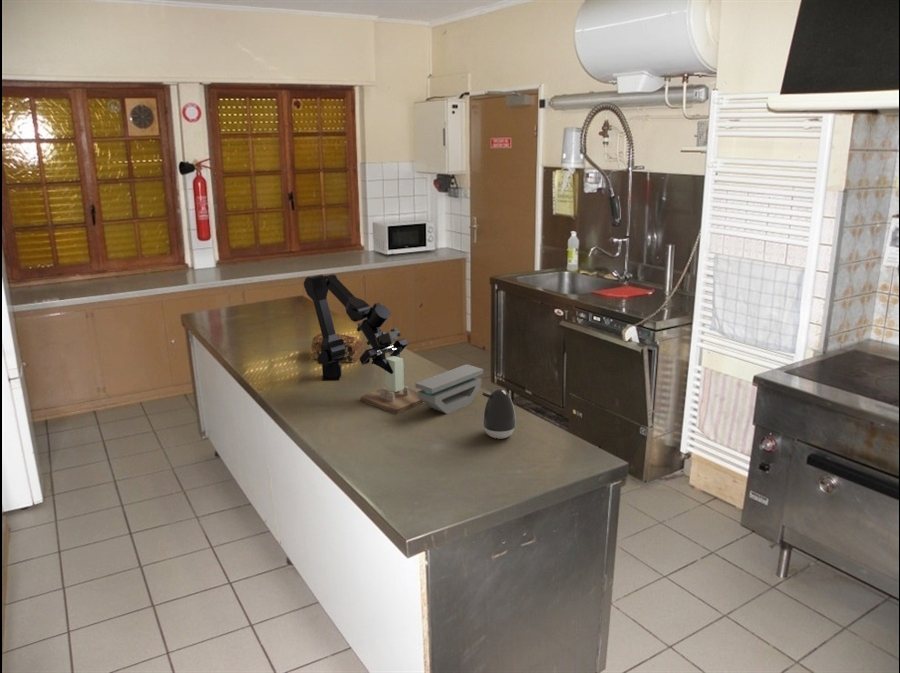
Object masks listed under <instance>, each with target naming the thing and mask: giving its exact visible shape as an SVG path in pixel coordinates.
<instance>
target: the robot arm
mask: <svg viewBox="0 0 900 673" xmlns="http://www.w3.org/2000/svg"><path fill="white" fill-rule="evenodd" d="M303 288H304V290H305V293H306V295H307V296H308V297H309V298H310V299H311V300H312V301H313V305H314V308H315V312H316V317H317V320H318V325H319V328H320V331H321V332H320V334H322V336H323V340H322V344H321V351H322V352H321V354H320V355H319V356H318V357H317V364H319V365H321V368H322V369H321V371H322V377H321V380H322V381H339V380H340V379H341V377H342V375H343V370H342V364H341V362H340V361H343V359H344V355H345V349H346V348H345V346H344V342H343V339H342V338H341V339H340V338H339V337H338V336H337V335H336V334H337V333H336V330H335V326H334V322H333V318H332V315H331V310H330V306H329V303H328V299H327V296H328V293H329V292H330V293H331V294H332V295H333V296H334V297H335V298H337V300H338V301H339V302H340V303H341V304H342V306H343V307H344V308H345V314H346V315H347V316H348V317H349V319H350V320H351V321H352V322H360V321H362V322H361V323H357V328H356V332H357V333H358V332H361V331H362V333H363V335H364V337H365V338H366V339H367V342H366V344H367V346H371V348H369V349H366V350H365V351H364V352H362V355H361V356H360V358H359V361H360V364H361V366H364V365H368V364H369V363H370V360H371V365H376V366H377V367H379V368H380V369H383V370H384V371H385V370H386V371H387V372H389V373H390V374H392V373H393V370H392V368H391V366H390V365H389V363H388V361H387V360H386V358H387V357H386V354H387V353H388V354H389V356H388V357H390V356H396V357H399V358H401V353H402V352H403V351H404V350H405V348H406V347H407V346H408V345H409V342H408V340H407V339H406V338H400V339H399V337H400V336H401V331H400V330H399V328H398V327H394V328H391V329H390V331H389V332H386V331H385V330H383V331H382V329H381V327H383V326H384V325H385V323H386V322H387V320H388V319H390V317H391V316H392V315H391V310H390V309H389V308H388V307H386V306H385V305H383V304H381V303H380V302H376V303H374V304H373V305H372V306H370V304H369V303H368V302H366V301H365V300H363V299H361V298H358V297H356V296H355V295H354V294H353V293H352V292H351V291H350V290H349V289H348V288H347V287H346V286H345V284H343V283H342V282H341V281H340V280H339V279H338V277H337V275H336V274H333V273H331V274H326V275H324V274H316V275H311V276H307V277H305V279H304V281H303Z"/></svg>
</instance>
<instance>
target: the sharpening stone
mask: <svg viewBox="0 0 900 673" xmlns="http://www.w3.org/2000/svg"><path fill="white" fill-rule="evenodd" d="M480 375H484V368H480V367H477V366H473V365H470V364H467V363H466V364H464V365H461V366H458V367H455V368H453V369H450V370H446V371H444V372H442V373H439V374H436V375H434V376H431V377H428V378H425V379H423V380H420V381H417V382H415V383H414V384H415V385H414V386H415V388H416V389H419V390H418V391H417V392H418V398H419V399H420V400H422V401H423V402H424V403H423V404H425V405H427V406H428V407H429V408H430V409H432V408H433V410H435V411H439V412H440V411H441V413H443V414H446V415H448V414H451V413H453V412H455V411H457V410H461V409H463V408H465V407H467V406H469V405H471V404H472V402H473V400H474V398H475V397H476V394H477V393H478V392H479V390H480V388H481V386H482V378H478V376H480Z"/></svg>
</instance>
